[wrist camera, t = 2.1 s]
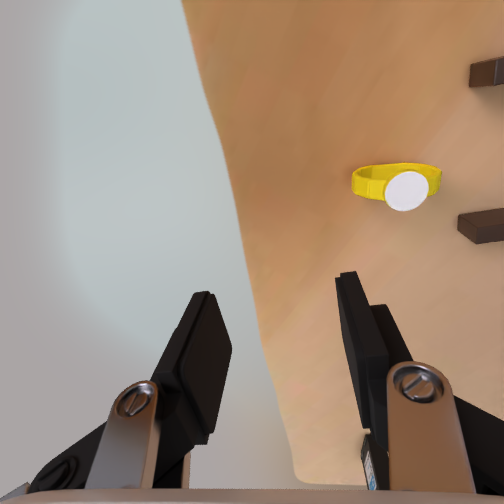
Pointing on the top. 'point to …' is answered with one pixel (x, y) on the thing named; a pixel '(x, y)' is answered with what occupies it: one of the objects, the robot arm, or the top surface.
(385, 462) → the ink cartridge
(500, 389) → the top surface
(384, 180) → the watch
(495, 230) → the bay
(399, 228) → the top surface
